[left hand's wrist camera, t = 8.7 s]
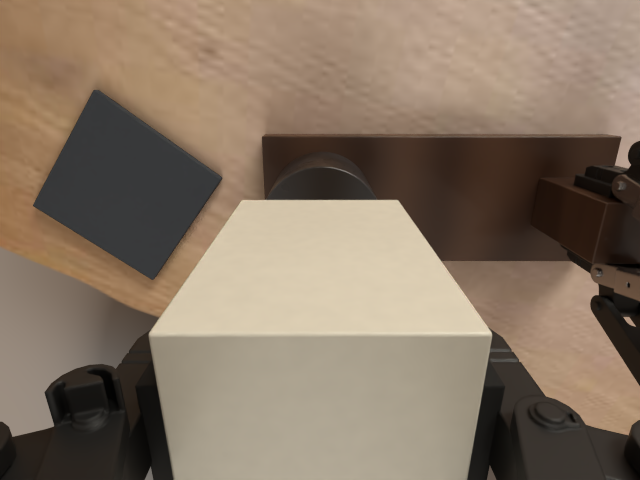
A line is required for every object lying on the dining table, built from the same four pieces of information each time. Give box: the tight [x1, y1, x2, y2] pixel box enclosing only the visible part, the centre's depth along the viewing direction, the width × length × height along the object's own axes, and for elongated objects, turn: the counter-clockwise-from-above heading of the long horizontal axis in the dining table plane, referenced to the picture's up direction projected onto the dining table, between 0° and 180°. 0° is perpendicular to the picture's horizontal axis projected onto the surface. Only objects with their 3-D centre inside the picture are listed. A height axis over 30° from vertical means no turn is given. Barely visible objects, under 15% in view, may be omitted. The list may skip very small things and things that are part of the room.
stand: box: [262, 134, 640, 264], centre depth 26 cm, size 24×9×8 cm, turn 90°
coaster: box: [33, 90, 222, 280], centre depth 29 cm, size 10×10×1 cm
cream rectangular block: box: [149, 200, 492, 480], centre depth 12 cm, size 6×6×9 cm
